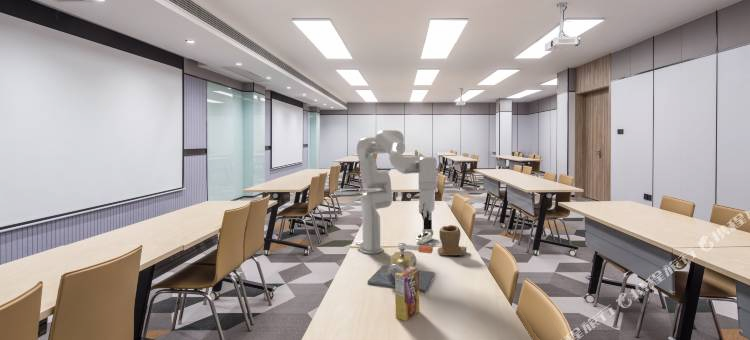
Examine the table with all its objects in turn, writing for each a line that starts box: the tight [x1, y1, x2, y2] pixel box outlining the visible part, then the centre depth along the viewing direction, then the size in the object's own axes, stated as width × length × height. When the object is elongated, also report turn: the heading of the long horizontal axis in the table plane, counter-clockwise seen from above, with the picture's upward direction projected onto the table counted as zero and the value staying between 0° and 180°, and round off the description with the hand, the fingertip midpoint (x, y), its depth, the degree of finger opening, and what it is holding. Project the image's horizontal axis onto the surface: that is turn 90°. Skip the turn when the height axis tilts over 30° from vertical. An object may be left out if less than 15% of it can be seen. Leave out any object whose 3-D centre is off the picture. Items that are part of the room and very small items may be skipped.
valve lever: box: [397, 242, 434, 254], centre depth 146 cm, size 14×3×2 cm, turn 69°
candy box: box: [394, 266, 420, 322], centre depth 119 cm, size 9×4×15 cm, turn 140°
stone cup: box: [436, 224, 467, 256], centre depth 179 cm, size 15×12×15 cm
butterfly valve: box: [415, 212, 434, 245], centre depth 203 cm, size 9×20×17 cm
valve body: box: [367, 250, 436, 294], centre depth 148 cm, size 24×19×13 cm
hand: (427, 228), depth 149 cm, fingers closed
